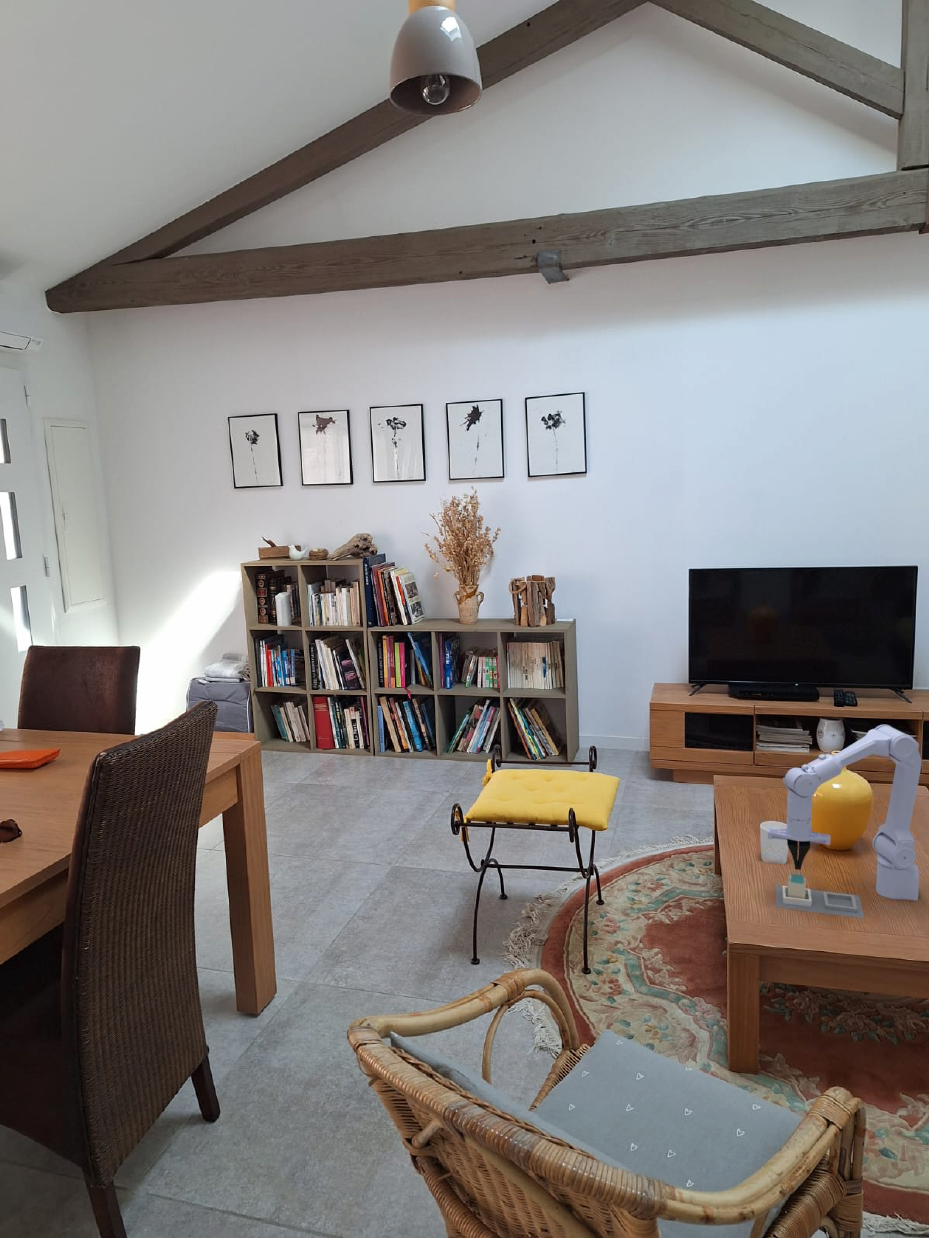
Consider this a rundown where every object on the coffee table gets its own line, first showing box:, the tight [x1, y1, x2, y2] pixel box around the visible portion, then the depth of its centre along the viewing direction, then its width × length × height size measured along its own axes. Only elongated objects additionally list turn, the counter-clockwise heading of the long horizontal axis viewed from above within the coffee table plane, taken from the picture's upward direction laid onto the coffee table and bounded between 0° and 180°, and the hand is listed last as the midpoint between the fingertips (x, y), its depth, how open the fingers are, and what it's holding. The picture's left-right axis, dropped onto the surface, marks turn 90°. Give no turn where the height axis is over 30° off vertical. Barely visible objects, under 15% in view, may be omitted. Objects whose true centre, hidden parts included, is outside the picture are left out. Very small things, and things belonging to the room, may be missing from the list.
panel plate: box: [774, 885, 865, 919], centre depth 212 cm, size 20×12×1 cm, turn 71°
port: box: [782, 885, 812, 907], centre depth 213 cm, size 7×7×2 cm
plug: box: [787, 872, 807, 899], centre depth 213 cm, size 4×4×6 cm
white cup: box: [759, 820, 789, 865], centre depth 237 cm, size 8×8×10 cm
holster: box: [823, 891, 857, 913], centre depth 210 cm, size 7×7×1 cm
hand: (797, 867), depth 212 cm, fingers closed
